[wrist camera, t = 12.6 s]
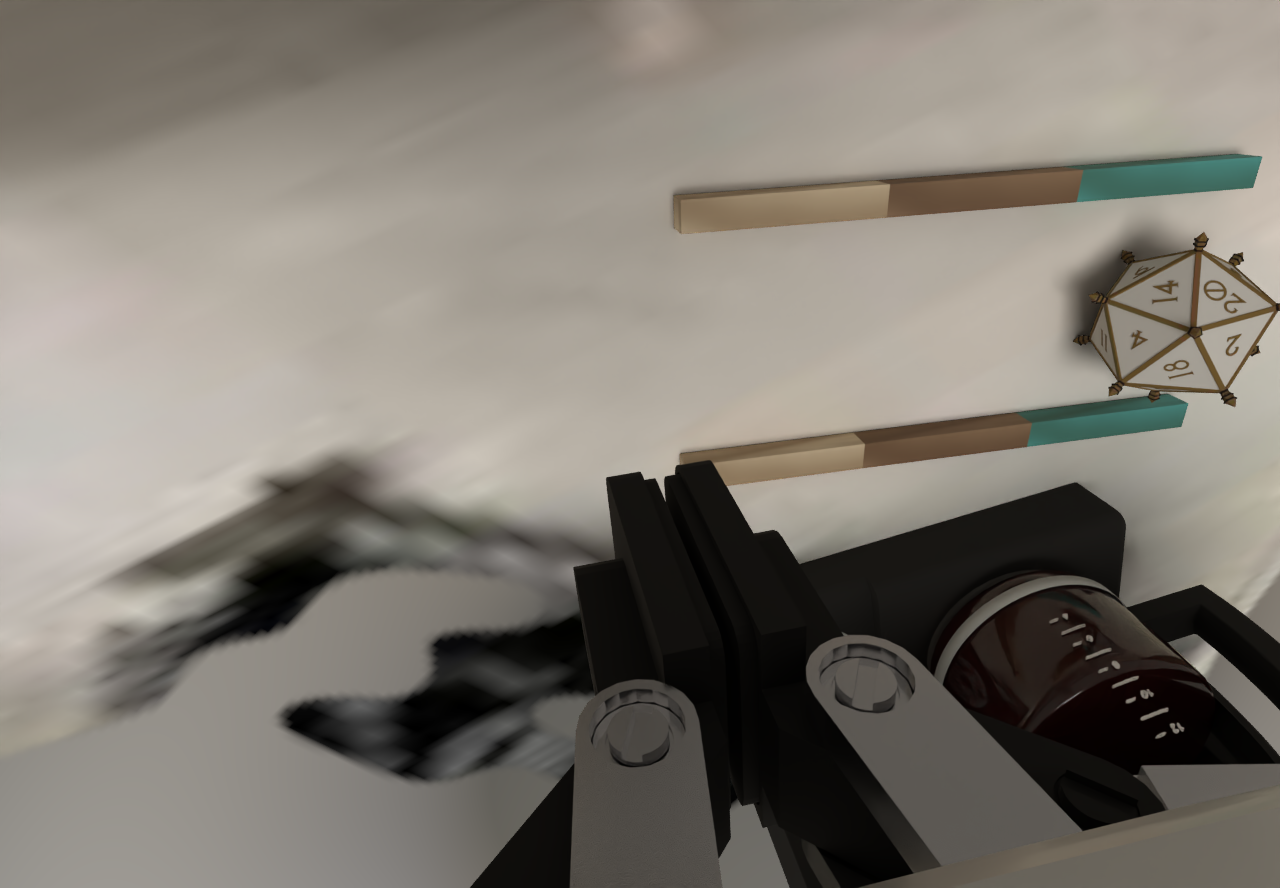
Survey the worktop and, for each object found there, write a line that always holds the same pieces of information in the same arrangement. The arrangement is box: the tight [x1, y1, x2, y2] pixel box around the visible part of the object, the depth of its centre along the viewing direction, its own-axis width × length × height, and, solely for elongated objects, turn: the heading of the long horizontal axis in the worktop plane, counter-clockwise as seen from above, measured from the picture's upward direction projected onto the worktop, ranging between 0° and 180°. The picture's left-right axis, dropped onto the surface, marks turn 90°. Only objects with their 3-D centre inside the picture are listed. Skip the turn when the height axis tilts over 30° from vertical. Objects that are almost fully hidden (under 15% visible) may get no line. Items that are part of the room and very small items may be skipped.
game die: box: [1073, 232, 1280, 407], centre depth 38 cm, size 9×8×10 cm
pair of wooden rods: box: [674, 154, 1262, 486], centre depth 40 cm, size 15×30×2 cm, turn 92°
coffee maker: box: [767, 483, 1280, 888], centre depth 35 cm, size 28×20×35 cm
